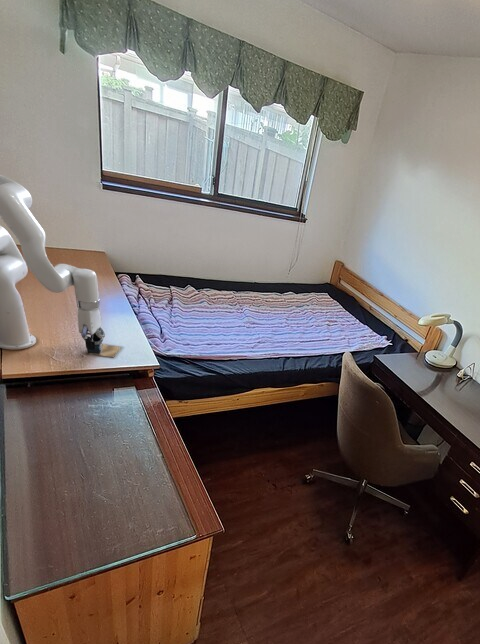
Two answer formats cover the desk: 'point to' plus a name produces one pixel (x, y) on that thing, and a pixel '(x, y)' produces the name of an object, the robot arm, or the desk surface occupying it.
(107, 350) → the brown wooden square tile
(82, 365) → the desk surface
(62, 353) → the desk surface
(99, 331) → the watch
